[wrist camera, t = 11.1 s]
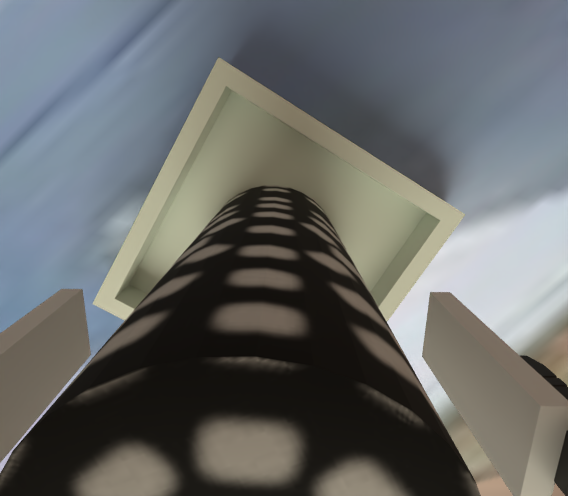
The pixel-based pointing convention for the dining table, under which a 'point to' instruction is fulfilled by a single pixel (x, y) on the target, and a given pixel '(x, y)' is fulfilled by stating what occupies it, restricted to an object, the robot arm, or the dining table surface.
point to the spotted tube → (247, 380)
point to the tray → (283, 172)
